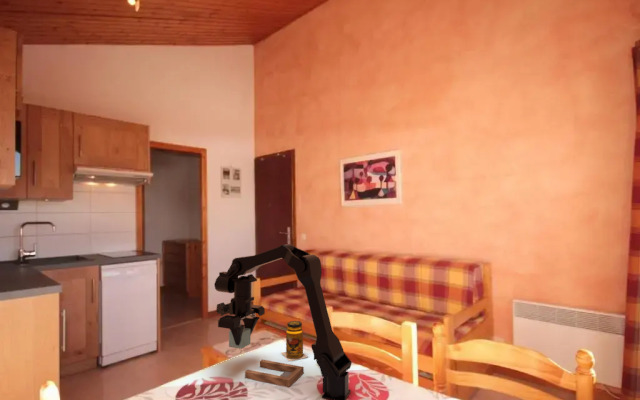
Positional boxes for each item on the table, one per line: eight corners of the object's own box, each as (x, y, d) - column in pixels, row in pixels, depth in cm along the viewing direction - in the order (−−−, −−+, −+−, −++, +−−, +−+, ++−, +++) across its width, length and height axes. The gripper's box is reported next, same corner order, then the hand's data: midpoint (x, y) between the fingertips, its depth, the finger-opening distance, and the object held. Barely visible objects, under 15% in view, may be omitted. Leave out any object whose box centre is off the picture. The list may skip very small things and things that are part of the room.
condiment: (289, 361, 122) (289, 326, 122) (280, 353, 129) (280, 320, 130) (308, 357, 125) (308, 323, 126) (298, 349, 133) (298, 317, 133)
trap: (296, 374, 112) (296, 373, 112) (286, 383, 106) (286, 382, 106) (284, 372, 113) (284, 371, 113) (274, 381, 107) (274, 379, 107)
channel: (303, 373, 112) (303, 366, 113) (289, 387, 103) (289, 380, 103) (262, 365, 118) (262, 359, 119) (244, 378, 109) (244, 371, 109)
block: (250, 343, 118) (250, 328, 118) (241, 348, 113) (241, 333, 113) (238, 341, 120) (238, 326, 120) (228, 346, 115) (229, 331, 115)
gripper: (239, 287, 128) (238, 330, 128) (204, 298, 111) (203, 348, 111) (265, 290, 124) (265, 334, 123) (233, 301, 107) (232, 353, 106)
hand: (242, 342), depth 116 cm, fingers closed on block, 5 cm apart
